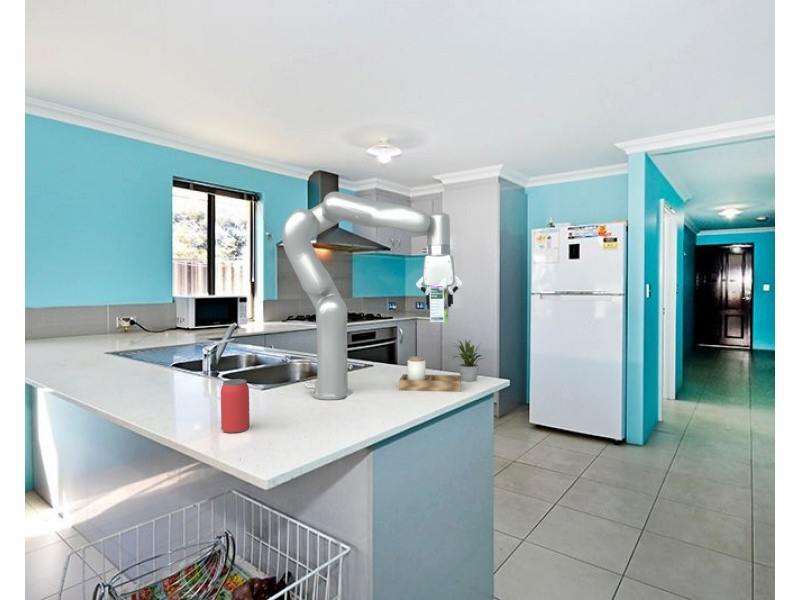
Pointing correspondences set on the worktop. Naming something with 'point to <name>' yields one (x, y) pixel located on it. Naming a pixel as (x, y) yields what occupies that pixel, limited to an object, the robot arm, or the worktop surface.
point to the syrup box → (439, 302)
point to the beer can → (235, 406)
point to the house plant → (468, 362)
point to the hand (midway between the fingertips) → (439, 306)
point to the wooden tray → (432, 383)
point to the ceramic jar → (416, 368)
